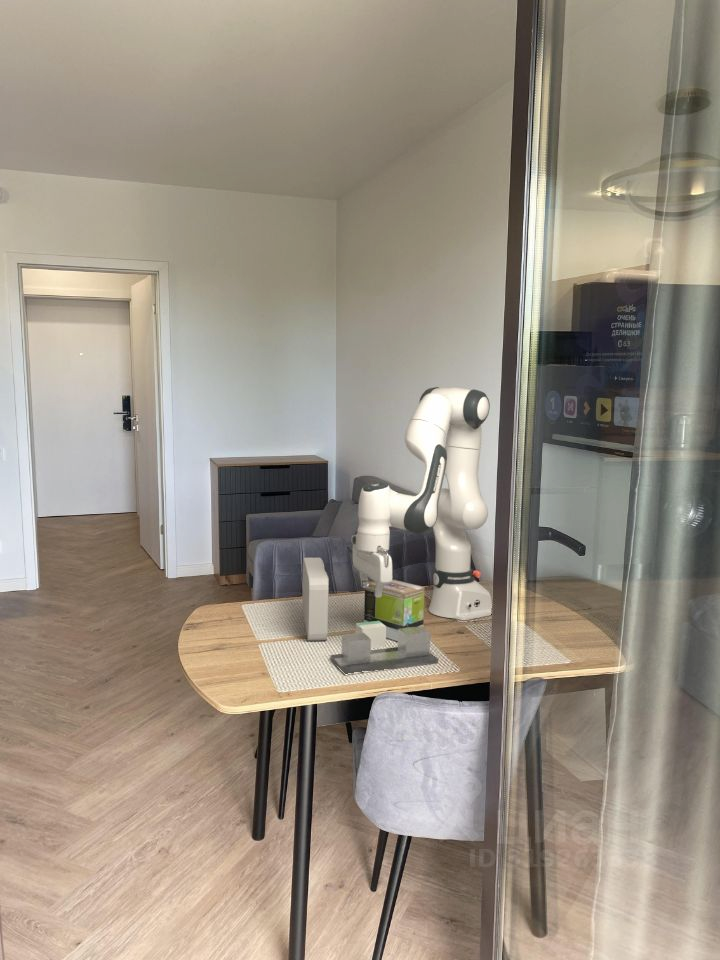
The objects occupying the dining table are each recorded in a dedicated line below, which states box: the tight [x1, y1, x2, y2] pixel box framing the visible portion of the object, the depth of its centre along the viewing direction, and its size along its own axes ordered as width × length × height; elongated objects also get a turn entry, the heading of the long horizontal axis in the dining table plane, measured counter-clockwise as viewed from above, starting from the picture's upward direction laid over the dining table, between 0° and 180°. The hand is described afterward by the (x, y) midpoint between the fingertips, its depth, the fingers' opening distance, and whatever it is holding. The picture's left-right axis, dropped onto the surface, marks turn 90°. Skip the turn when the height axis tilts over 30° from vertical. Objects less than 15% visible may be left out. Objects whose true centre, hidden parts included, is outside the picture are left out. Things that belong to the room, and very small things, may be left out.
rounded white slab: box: [301, 557, 330, 642], centre depth 218 cm, size 29×8×18 cm, turn 8°
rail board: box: [329, 625, 439, 674], centre depth 192 cm, size 26×11×8 cm, turn 111°
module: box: [355, 621, 387, 649], centre depth 204 cm, size 7×5×6 cm
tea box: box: [363, 578, 425, 642], centre depth 213 cm, size 15×10×15 cm
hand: (371, 591), depth 202 cm, fingers open, 8 cm apart
